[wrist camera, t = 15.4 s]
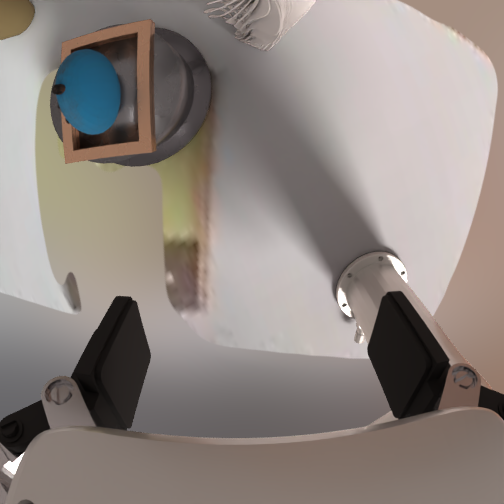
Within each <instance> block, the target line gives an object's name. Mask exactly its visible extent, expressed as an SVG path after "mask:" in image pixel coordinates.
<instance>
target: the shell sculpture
mask: <svg viewBox="0 0 504 504" xmlns="http://www.w3.org/2000/svg"><path fill="white" fill-rule="evenodd" d="M230 1H231V2H230ZM315 1H316V0H217V1H213V2H209V3H207V5H209V4H212V3H217V2H219V3H223V4H224V6H222V7H220V8H212V9H208V10H206V11H204V13H210V12H213V11H216V10H221V11H223V12H225V13H224V14H222V15H211V16H209V18H216V17H222V18H225V19H227V20H226V21H225V22H226V23H229V24H233V25H234V27H236V28H237V30H236V31H239V32H235V35H236V36H235V38H236V39H239V41H243V43H247V44H249V45H251V46H253V47H256V48H258V49H260V50H265V51H268V50H270V49H271V48H272V47H273V46H274V45H275V44H276V43H277V42H278V41H279V40H280V38H281V37H282V36H283V35H285V34H286V32H287V31H288V30H289V29H290V28H292V27H293V26H294V25H295V24H296V23H297V22H298V21H299V20H300V19H301V18H302V17H303V16H304V15H305V14H306V13H307V12H308V11H309V9H310V8H311V7H312V6H313V4H314V3H315ZM238 3H239V4H238ZM237 4H238V5H237ZM233 5H234V6H235V7H234V8H233ZM244 5H245V6H244ZM243 6H244V7H243ZM226 7H228V8H229V9H230V11H227V10H226V9H224V8H226ZM241 7H242V9H241V10H240V8H241ZM248 7H249V8H248ZM246 8H247V9H246ZM237 9H238V10H239V12H238V13H237V12H236V10H237ZM244 11H245V12H244ZM232 12H234V13H235V15H234V16H233V15H232V14H230V13H232ZM227 14H228V15H230V16H232V17H231V18H230V19H229V18H226V17H224V15H227ZM240 14H243V16H240ZM238 16H239V17H240V18H241V19H238V18H237V17H238ZM235 19H237V20H238V21H236V20H235ZM242 22H243V23H242ZM246 24H247V25H246ZM249 32H251V33H249ZM243 33H244V34H243ZM249 34H250V35H249ZM246 35H247V36H246Z"/></svg>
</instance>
